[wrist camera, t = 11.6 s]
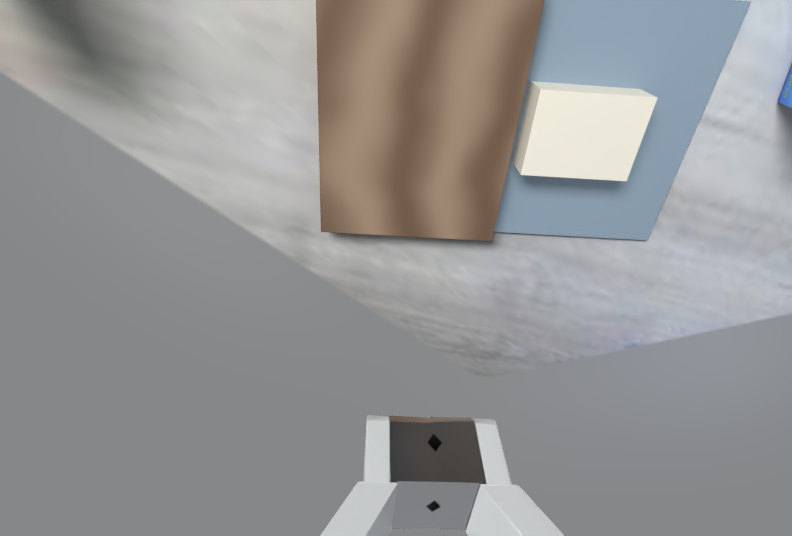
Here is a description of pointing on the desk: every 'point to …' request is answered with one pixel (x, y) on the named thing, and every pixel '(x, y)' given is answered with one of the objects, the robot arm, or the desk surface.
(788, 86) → the medicine box
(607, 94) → the tile
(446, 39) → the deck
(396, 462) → the robot arm
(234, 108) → the desk surface
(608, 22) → the mat
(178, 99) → the desk surface
